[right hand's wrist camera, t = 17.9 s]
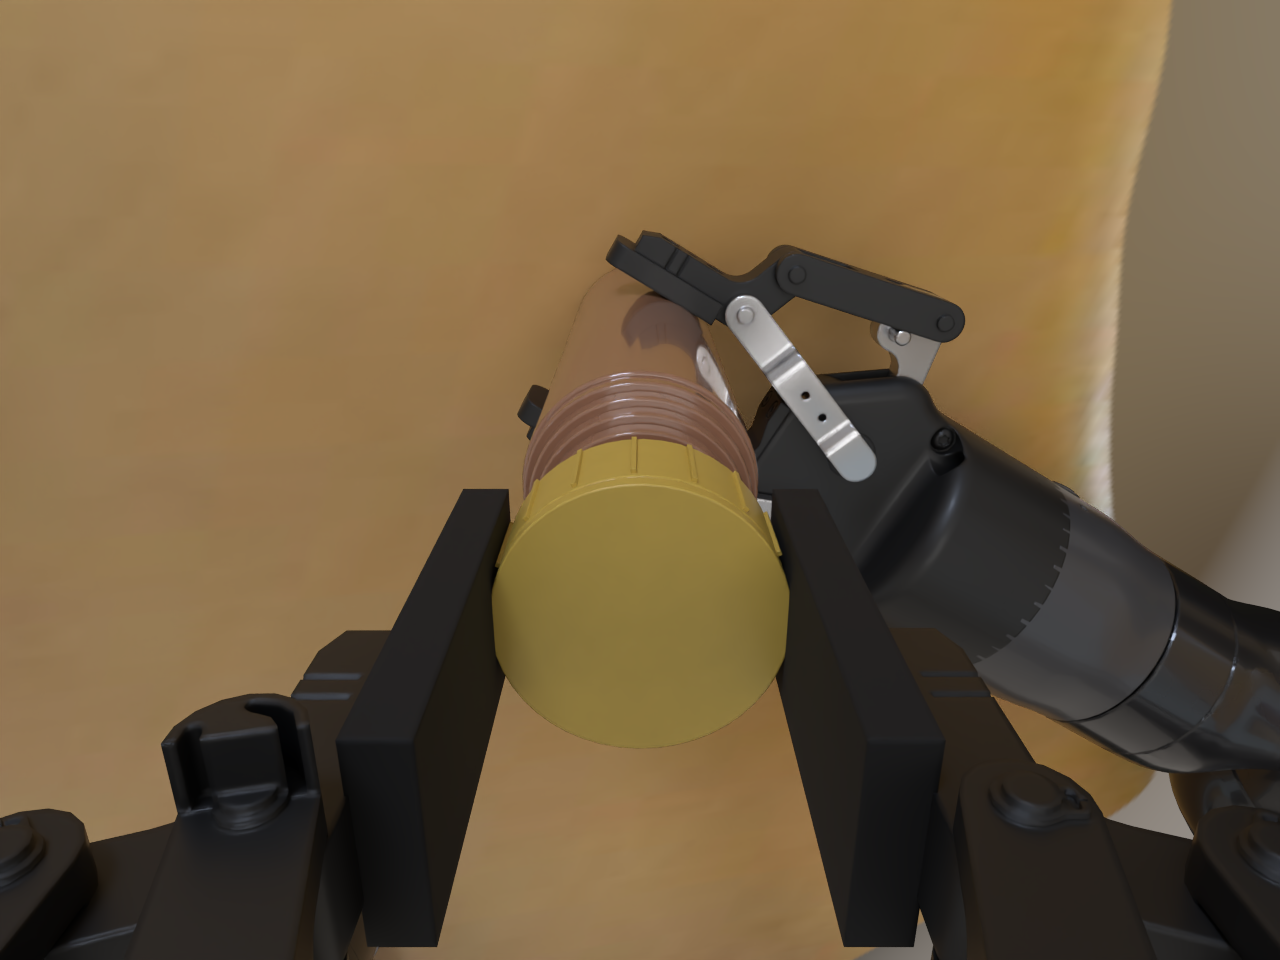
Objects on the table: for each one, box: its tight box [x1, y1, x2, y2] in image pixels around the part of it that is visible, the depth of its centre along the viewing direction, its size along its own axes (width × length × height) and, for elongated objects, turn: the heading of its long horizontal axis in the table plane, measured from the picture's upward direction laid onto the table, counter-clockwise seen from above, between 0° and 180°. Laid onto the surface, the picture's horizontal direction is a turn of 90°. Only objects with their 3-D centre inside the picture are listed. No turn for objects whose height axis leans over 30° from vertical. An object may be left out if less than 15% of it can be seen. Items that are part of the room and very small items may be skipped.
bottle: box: [523, 269, 759, 500], centre depth 24 cm, size 5×5×22 cm
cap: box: [492, 437, 790, 749], centre depth 14 cm, size 5×5×2 cm
